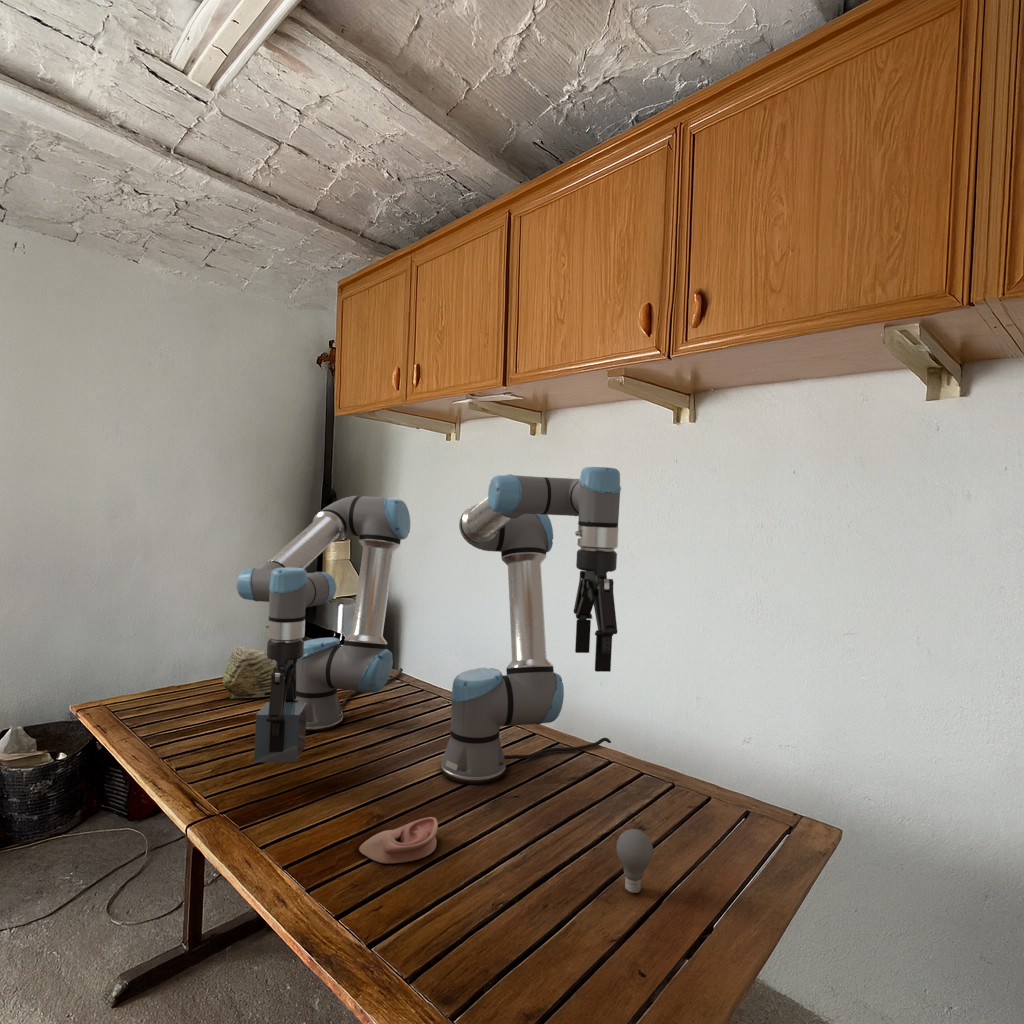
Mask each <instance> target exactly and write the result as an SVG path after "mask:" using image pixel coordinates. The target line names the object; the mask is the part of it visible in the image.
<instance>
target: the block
mask: <svg viewBox="0 0 1024 1024" xmlns="http://www.w3.org/2000/svg"><path fill="white" fill-rule="evenodd" d="M269 704H270V701H266V702H265V703H264V705H262V707H261V708H260V710H258V712H257V713H256V715H255V728H254V729H255V731H254V732H255V734H254V756H253V758H254V759H253V763H267V764H269V763H298V761H299V760H300V758H301V756H302V754H303V751H304V749H305V748H306V734H307V732H306V711H307V702H285V710H284V720H285V725H284V748H283V752H269V745H270V722H267V721H266V718H268V715H269Z"/></svg>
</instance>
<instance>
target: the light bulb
mask: <svg viewBox="0 0 1024 1024" xmlns="http://www.w3.org/2000/svg"><path fill="white" fill-rule="evenodd" d="M615 849H616V854H617V857H618V859H619V861H620V863H621V865H622V867H623V873H624V874H623V875H624V876H625V878H624V888H625V890H627V891H628V892H630V893H634V894H635V893H639V892H640V891H641V889H642V887H641V886H642V879H643V877H644V875H645V871H646V868H647V867H648V866H649V864H650V863H651V861H652V859H653V855H654V847H653V843H652V841H651V838H649V836H648V835H647V834H646V833H645V832H643V831H642V830H641V829H636V828H629V829H627V830H625V831H623V832H622V833H621V834H620V835H619V837H618V839H617V841H616V847H615Z"/></svg>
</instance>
